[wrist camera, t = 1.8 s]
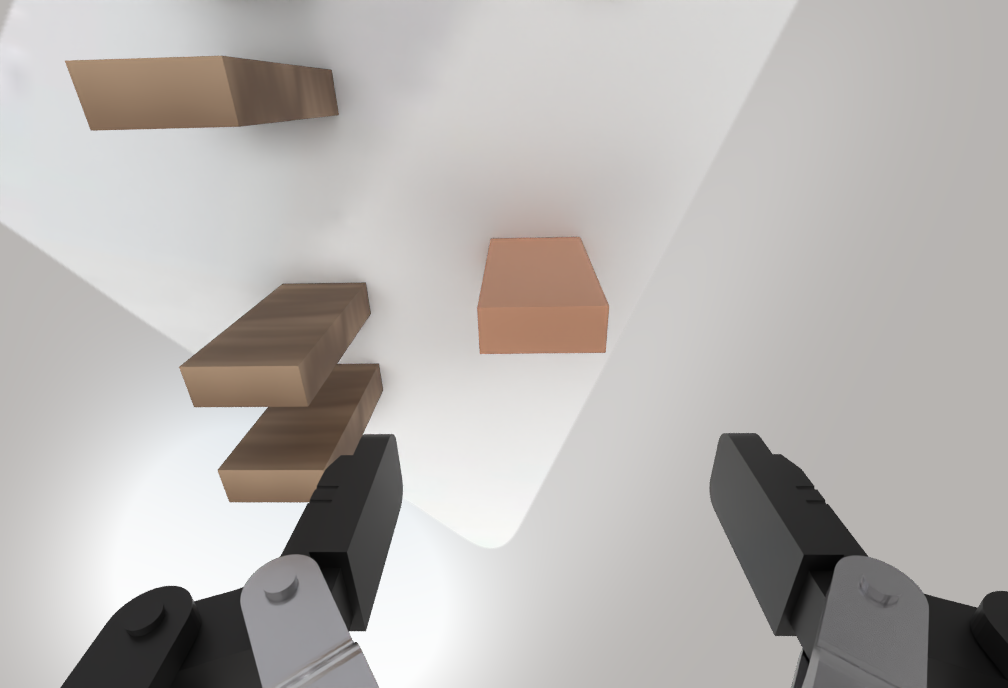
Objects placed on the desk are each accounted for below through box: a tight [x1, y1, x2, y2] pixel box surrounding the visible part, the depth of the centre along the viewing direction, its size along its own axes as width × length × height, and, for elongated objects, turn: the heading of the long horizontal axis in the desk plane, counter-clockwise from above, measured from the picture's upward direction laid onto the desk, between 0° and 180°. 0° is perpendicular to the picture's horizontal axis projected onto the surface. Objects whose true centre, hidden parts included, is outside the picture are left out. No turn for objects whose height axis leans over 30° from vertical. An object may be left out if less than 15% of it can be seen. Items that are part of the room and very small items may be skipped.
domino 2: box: [179, 283, 371, 407], centre depth 25 cm, size 2×5×10 cm, turn 91°
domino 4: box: [477, 237, 609, 354], centre depth 24 cm, size 2×5×10 cm, turn 91°
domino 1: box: [65, 56, 339, 130], centre depth 20 cm, size 2×5×10 cm, turn 92°
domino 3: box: [218, 364, 383, 502], centre depth 28 cm, size 2×5×10 cm, turn 92°
